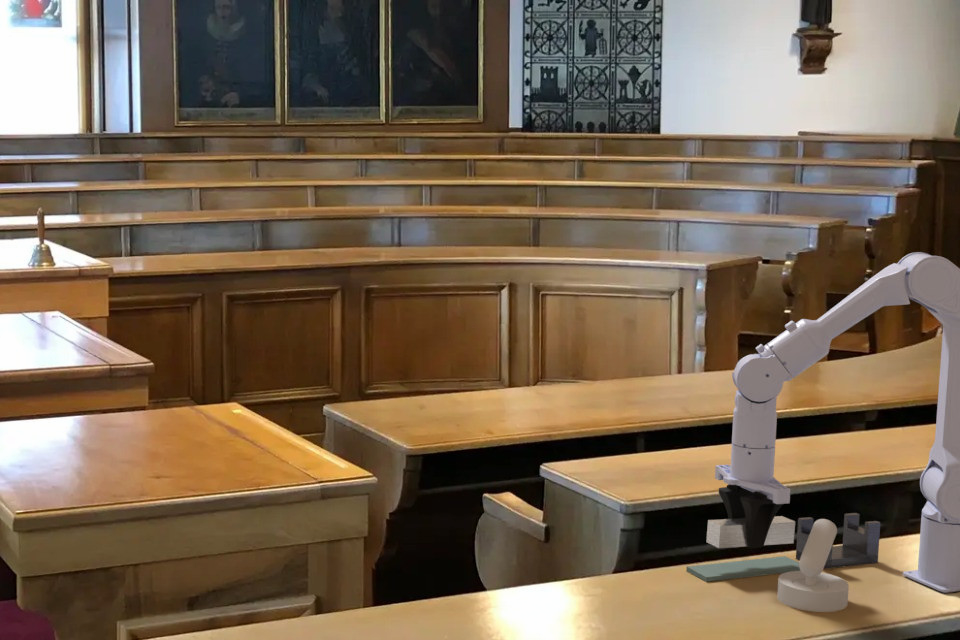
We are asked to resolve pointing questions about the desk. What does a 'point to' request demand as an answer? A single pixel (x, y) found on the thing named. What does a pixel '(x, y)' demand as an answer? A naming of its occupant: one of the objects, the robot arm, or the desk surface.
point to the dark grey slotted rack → (846, 542)
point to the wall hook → (814, 575)
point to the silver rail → (735, 532)
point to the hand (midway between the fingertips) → (747, 543)
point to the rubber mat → (744, 568)
